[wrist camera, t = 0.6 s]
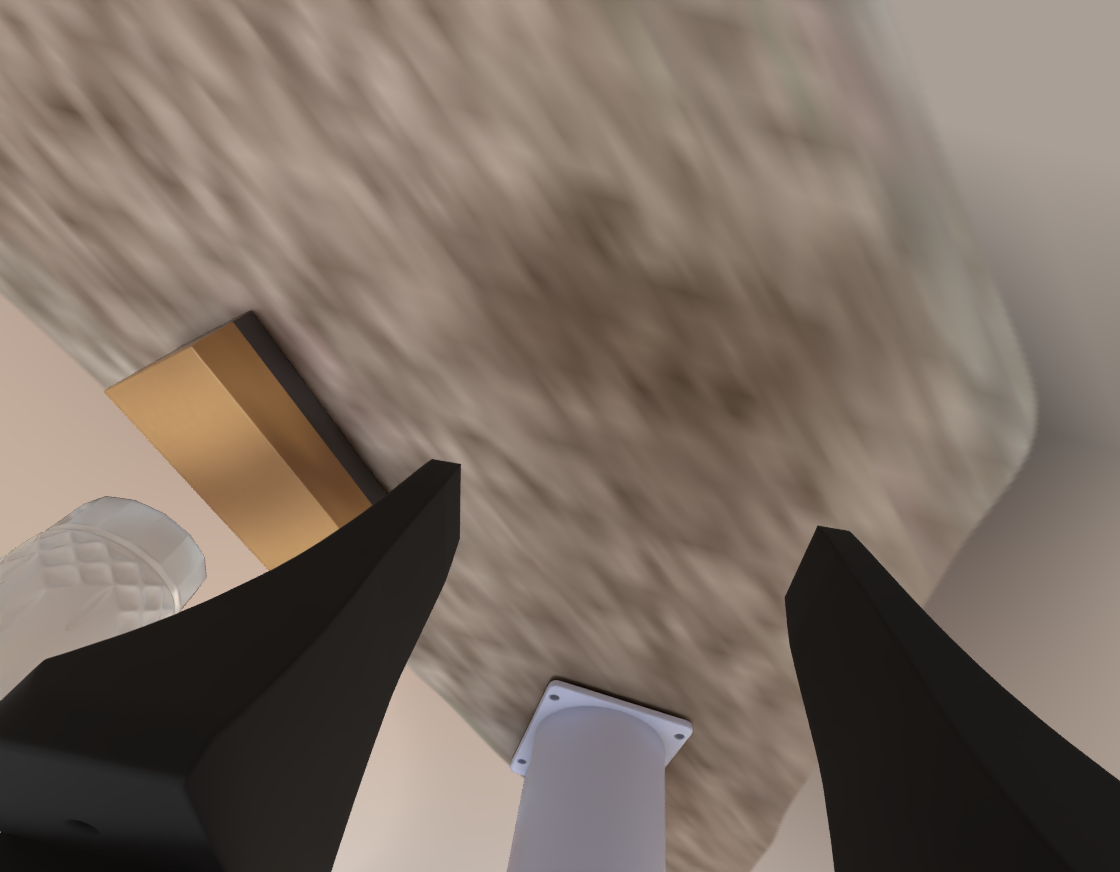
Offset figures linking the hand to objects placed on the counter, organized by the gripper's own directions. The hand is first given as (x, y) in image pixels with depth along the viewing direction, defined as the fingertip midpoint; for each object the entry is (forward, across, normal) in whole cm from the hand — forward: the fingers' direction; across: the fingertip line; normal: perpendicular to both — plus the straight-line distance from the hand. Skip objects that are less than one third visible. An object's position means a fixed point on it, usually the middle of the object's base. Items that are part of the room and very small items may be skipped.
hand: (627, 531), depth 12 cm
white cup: (+10, +23, +15) cm, 29 cm away
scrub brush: (+10, +13, +7) cm, 18 cm away
